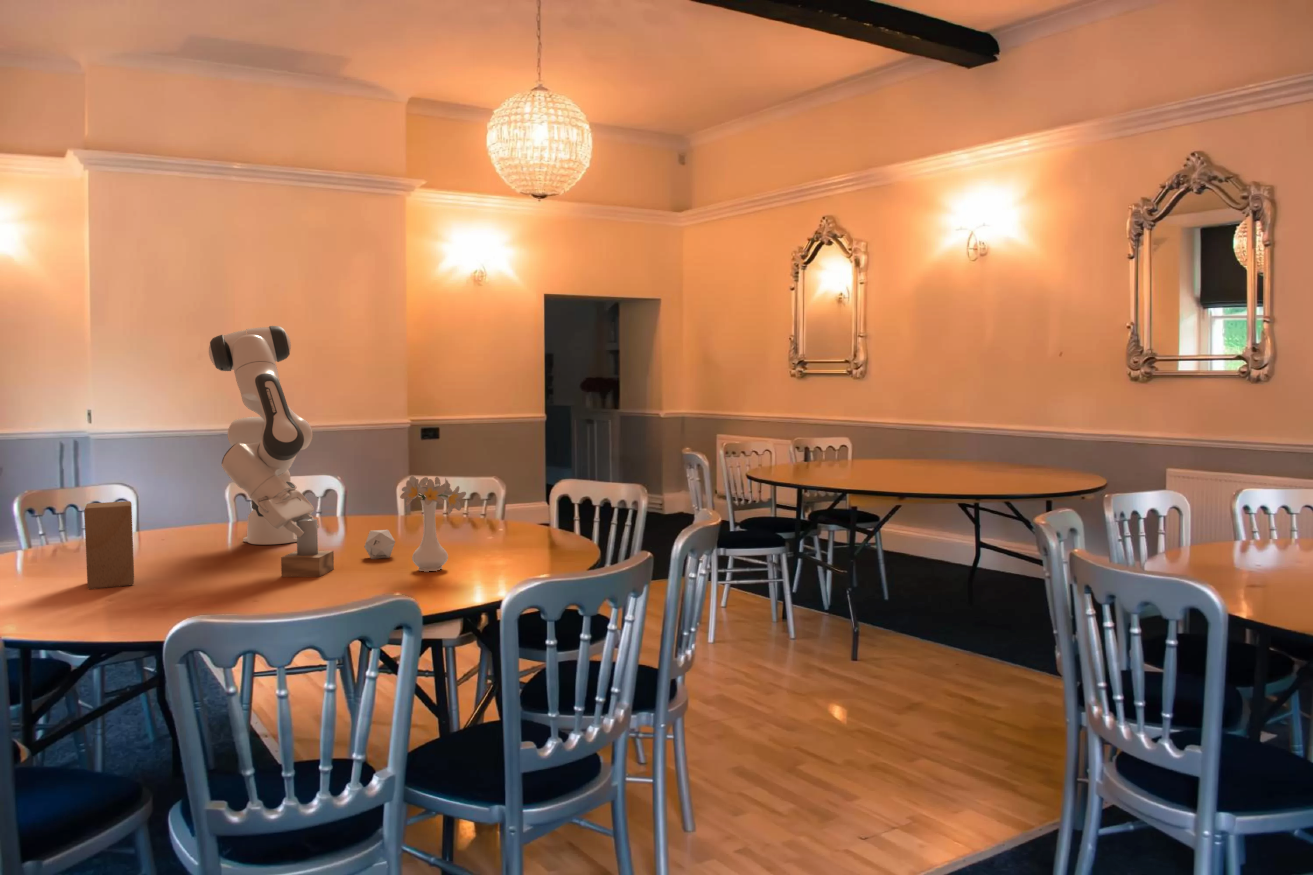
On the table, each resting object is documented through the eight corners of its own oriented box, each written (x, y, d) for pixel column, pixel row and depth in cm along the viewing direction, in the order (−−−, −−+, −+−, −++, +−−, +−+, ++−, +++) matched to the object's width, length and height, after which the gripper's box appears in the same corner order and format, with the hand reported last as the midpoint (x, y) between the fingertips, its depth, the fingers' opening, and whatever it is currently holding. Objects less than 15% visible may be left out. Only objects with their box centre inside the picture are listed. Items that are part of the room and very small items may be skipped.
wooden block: (87, 589, 239) (84, 508, 238) (89, 581, 248) (86, 503, 247) (133, 585, 244) (130, 505, 243) (134, 578, 253) (131, 500, 252)
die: (358, 559, 281) (359, 536, 275) (374, 541, 287) (375, 517, 281) (383, 570, 279) (385, 547, 274) (399, 551, 286) (401, 528, 280)
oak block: (297, 568, 264) (296, 550, 264) (333, 569, 264) (333, 550, 264) (281, 576, 254) (281, 557, 254) (319, 576, 254) (319, 557, 254)
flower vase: (452, 576, 254) (450, 480, 252) (389, 572, 259) (387, 478, 258) (475, 567, 266) (474, 475, 265) (415, 563, 272) (414, 473, 270)
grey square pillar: (301, 552, 262) (301, 518, 261) (321, 552, 261) (320, 518, 261) (293, 555, 256) (293, 521, 256) (313, 555, 256) (312, 521, 256)
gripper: (262, 491, 248) (301, 529, 248) (295, 482, 268) (331, 517, 268) (245, 508, 248) (284, 547, 248) (280, 498, 269) (316, 533, 269)
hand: (309, 531), depth 258 cm, fingers open, 8 cm apart
